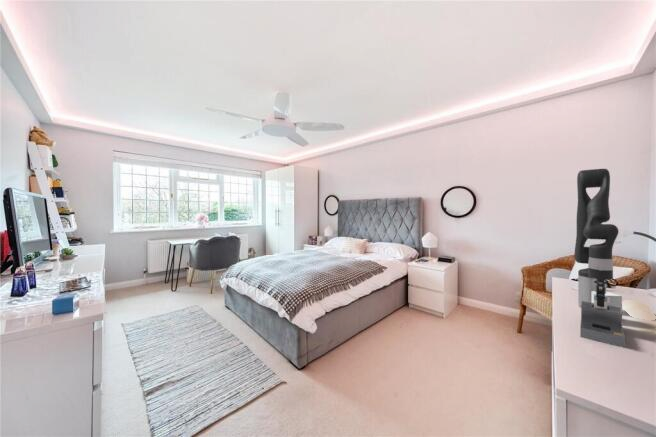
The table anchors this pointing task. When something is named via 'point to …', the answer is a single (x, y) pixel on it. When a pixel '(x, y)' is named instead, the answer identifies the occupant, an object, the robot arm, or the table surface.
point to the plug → (606, 300)
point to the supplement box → (611, 299)
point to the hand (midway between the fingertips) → (600, 305)
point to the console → (602, 324)
